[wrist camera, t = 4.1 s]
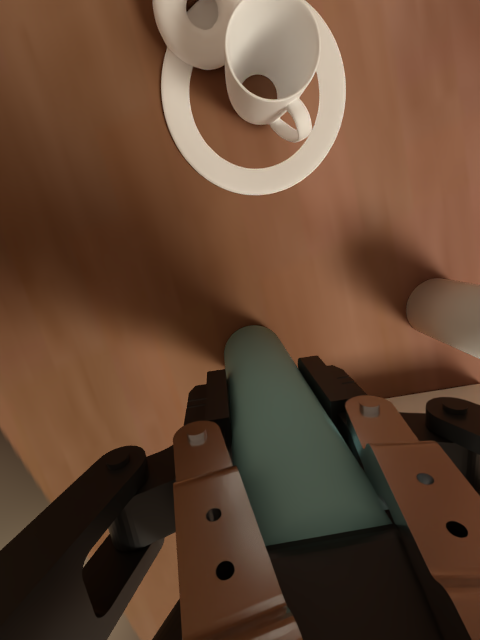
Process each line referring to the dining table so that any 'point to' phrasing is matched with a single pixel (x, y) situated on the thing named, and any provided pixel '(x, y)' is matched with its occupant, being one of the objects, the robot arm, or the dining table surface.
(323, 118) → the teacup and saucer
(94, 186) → the dining table surface
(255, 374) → the long pin
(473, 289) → the short pin
